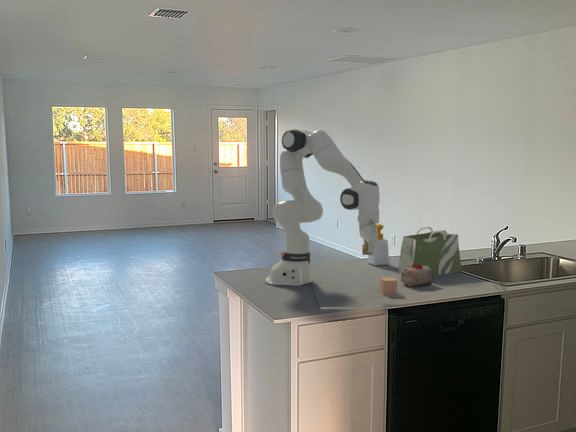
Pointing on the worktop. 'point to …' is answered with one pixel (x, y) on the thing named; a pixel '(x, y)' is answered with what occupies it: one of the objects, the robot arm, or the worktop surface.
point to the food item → (417, 275)
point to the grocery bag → (431, 252)
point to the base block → (388, 285)
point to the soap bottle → (380, 250)
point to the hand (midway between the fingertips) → (368, 250)
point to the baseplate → (371, 293)
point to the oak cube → (366, 249)
